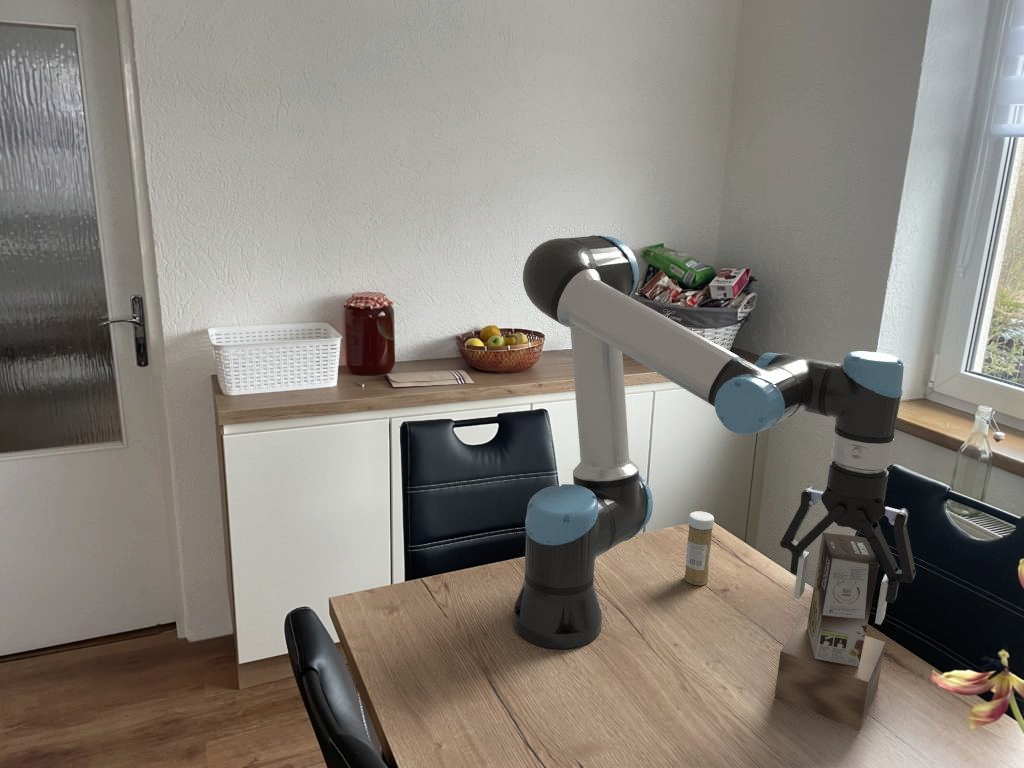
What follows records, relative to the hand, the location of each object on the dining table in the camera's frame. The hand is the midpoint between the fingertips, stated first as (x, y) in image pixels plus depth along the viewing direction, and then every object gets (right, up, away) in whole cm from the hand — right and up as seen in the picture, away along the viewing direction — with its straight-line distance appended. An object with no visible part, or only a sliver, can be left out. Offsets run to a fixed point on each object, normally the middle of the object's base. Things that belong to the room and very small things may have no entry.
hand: (838, 606), depth 114 cm
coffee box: (0, -7, +2) cm, 7 cm away
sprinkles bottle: (-12, -5, +36) cm, 38 cm away
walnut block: (0, -14, +4) cm, 15 cm away
